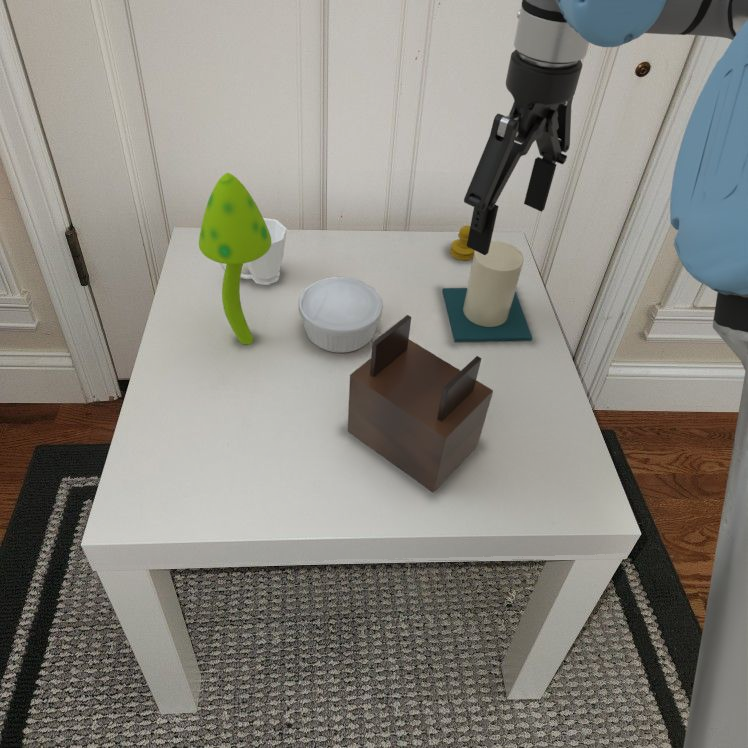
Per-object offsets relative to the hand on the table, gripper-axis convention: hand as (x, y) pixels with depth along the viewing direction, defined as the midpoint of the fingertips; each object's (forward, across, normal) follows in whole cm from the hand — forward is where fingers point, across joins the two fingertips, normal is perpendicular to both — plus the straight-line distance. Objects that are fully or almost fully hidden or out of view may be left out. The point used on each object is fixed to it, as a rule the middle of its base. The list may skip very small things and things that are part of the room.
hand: (506, 227), depth 84 cm
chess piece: (+15, -10, -11) cm, 22 cm away
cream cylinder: (+15, 0, 0) cm, 15 cm away
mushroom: (+16, +27, -21) cm, 38 cm away
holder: (+16, +25, +6) cm, 30 cm away
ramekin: (+15, +17, -13) cm, 26 cm away
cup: (+15, +17, -30) cm, 38 cm away
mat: (+15, 0, 0) cm, 15 cm away
